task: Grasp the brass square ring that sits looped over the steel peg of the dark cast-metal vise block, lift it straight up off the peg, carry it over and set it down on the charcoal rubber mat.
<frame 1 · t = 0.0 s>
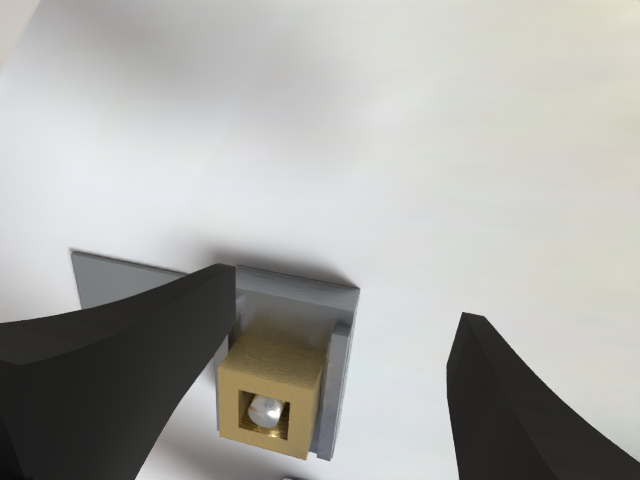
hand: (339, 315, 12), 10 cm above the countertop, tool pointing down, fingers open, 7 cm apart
brass square ring: (280, 377, 24), point 2 cm above the countertop, touching vise block
rubber mat: (137, 316, 28), on the countertop
vise block: (291, 351, 26), on the countertop
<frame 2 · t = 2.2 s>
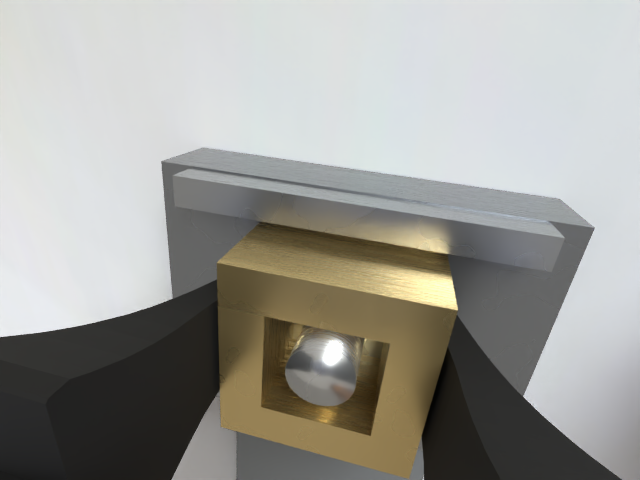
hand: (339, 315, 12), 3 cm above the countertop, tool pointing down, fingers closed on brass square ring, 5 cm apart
brass square ring: (340, 311, 12), point 2 cm above the countertop, touching gripper, vise block
rubber mat: (322, 479, 19), on the countertop
vise block: (352, 274, 14), on the countertop
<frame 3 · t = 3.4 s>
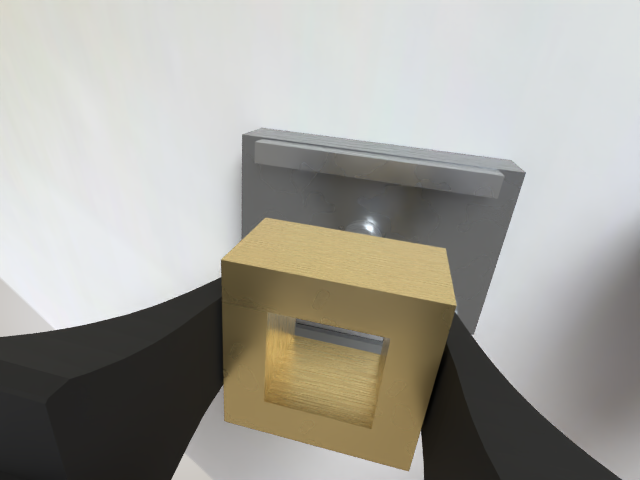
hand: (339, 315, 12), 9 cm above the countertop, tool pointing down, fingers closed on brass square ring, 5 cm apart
brass square ring: (341, 308, 12), point 8 cm above the countertop, touching gripper
rubber mat: (341, 389, 25), on the countertop
vise block: (367, 220, 20), on the countertop
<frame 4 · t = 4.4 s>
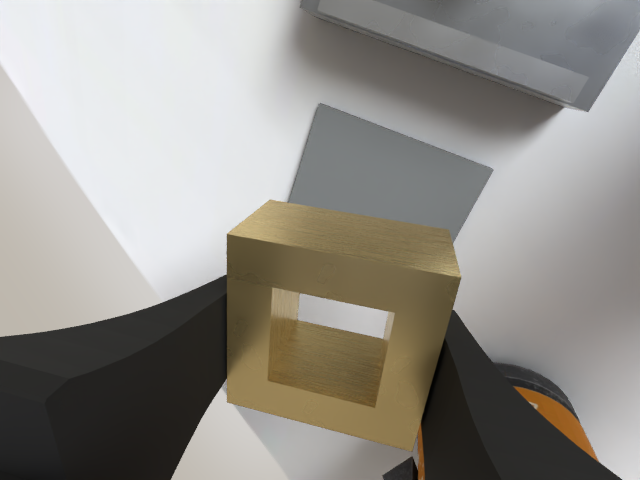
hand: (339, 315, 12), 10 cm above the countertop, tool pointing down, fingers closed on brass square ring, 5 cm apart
brass square ring: (344, 291, 12), point 9 cm above the countertop, touching gripper
rubber mat: (371, 214, 21), on the countertop
canister: (472, 411, 24), on the countertop
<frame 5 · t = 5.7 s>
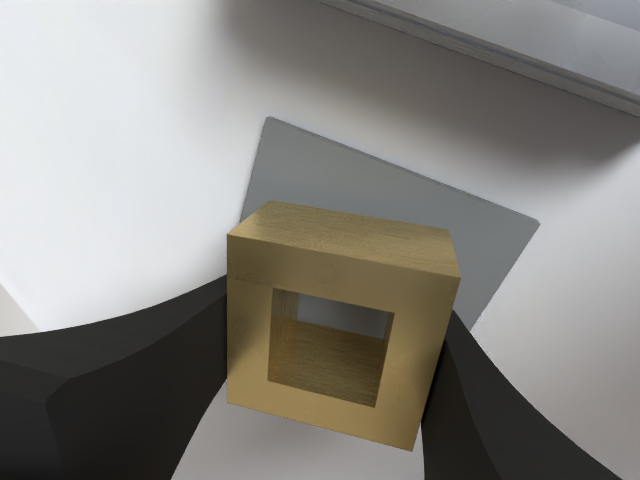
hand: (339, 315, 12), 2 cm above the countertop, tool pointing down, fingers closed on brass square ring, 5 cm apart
brass square ring: (344, 291, 12), point 2 cm above the countertop, touching gripper
rubber mat: (350, 279, 14), on the countertop
when the fingers open (2 cm above the countertop, at t = 6.7 s): brass square ring drops 1 cm, resting on rubber mat.
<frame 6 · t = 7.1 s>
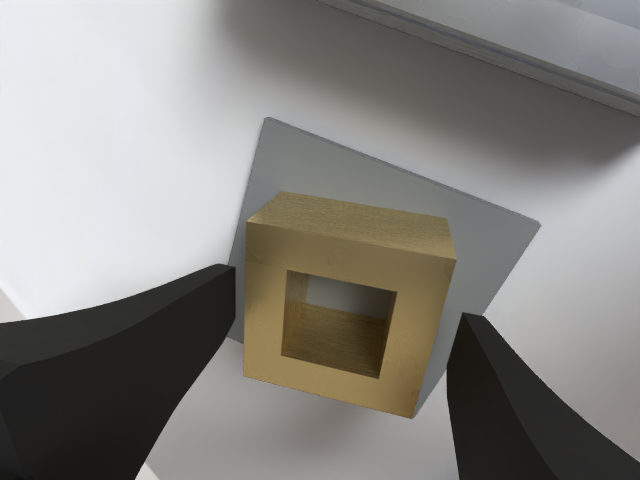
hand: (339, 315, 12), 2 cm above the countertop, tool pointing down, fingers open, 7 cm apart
brass square ring: (350, 276, 13), resting on rubber mat
rubber mat: (350, 281, 14), on the countertop
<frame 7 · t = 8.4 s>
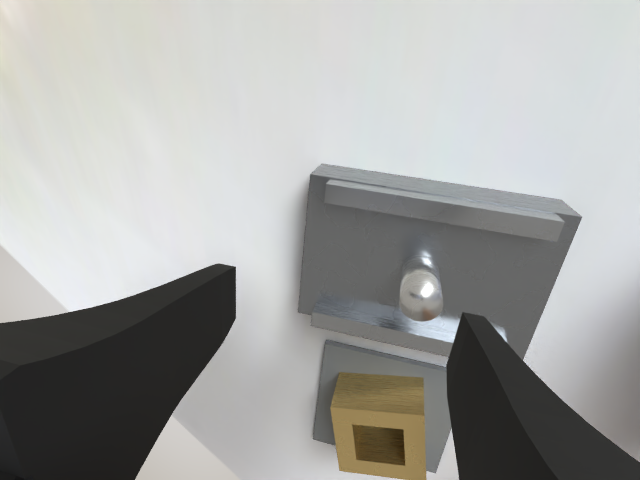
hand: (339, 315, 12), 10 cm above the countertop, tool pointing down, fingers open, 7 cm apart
brass square ring: (382, 406, 25), resting on rubber mat
rubber mat: (383, 406, 26), on the countertop
vise block: (419, 250, 21), on the countertop
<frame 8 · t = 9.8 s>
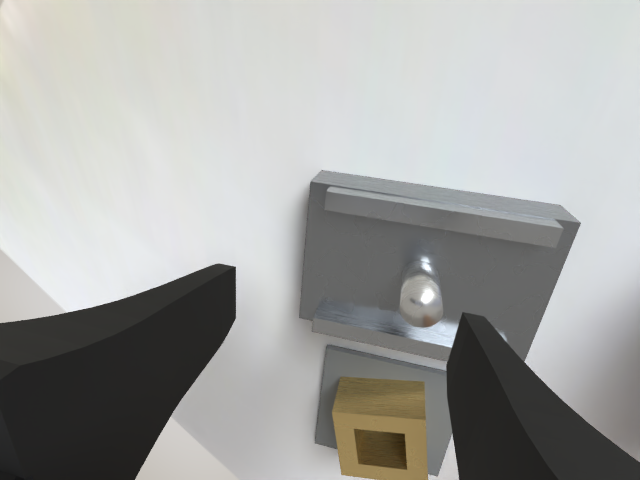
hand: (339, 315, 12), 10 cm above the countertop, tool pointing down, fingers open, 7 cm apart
brass square ring: (384, 410, 25), resting on rubber mat
rubber mat: (384, 410, 26), on the countertop
vise block: (419, 255, 21), on the countertop
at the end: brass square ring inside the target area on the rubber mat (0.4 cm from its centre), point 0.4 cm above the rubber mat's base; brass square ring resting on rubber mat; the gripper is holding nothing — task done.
